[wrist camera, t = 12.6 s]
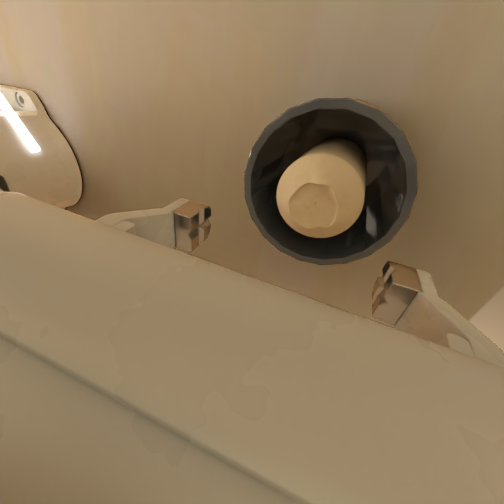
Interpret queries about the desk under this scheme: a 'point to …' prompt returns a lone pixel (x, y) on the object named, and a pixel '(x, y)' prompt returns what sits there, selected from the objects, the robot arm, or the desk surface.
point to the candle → (324, 189)
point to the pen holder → (377, 179)
